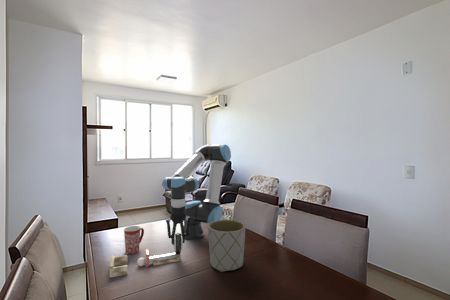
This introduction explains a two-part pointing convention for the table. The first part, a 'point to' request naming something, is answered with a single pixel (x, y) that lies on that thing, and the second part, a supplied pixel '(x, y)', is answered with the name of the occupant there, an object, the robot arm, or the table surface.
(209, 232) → the planter
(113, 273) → the beige block
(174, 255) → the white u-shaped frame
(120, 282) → the table surface
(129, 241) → the mug
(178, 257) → the strip
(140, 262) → the ball
